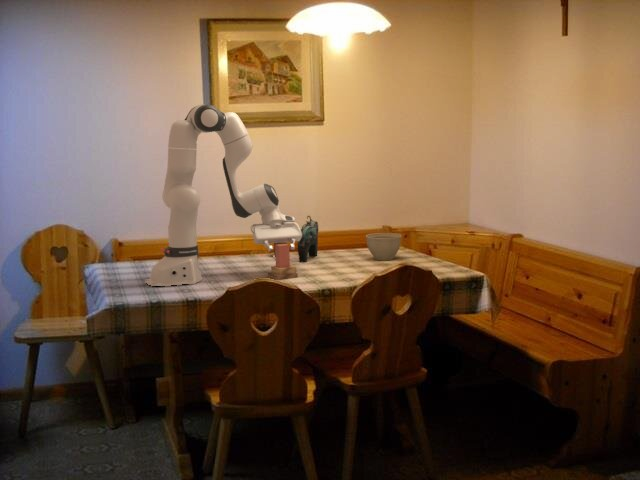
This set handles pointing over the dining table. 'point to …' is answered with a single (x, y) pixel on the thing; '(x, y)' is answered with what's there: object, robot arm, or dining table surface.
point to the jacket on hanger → (308, 240)
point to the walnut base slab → (282, 276)
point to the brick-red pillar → (282, 255)
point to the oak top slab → (283, 270)
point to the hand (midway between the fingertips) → (281, 249)
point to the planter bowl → (383, 245)
